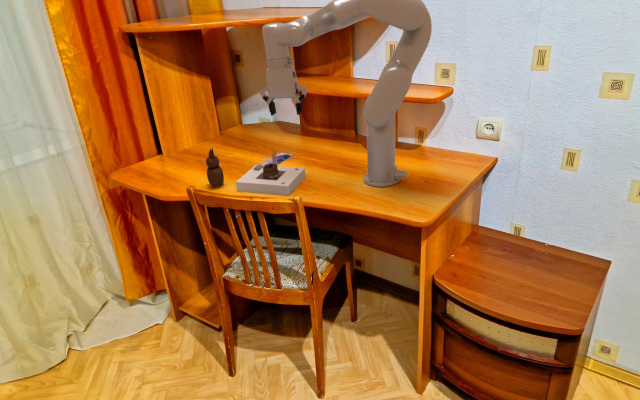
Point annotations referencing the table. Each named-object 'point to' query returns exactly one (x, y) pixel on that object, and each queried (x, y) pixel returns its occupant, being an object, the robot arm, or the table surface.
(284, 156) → the smartphone
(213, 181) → the wooden figurine
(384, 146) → the robot arm
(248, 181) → the socket block
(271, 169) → the utensil holder
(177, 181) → the table surface
